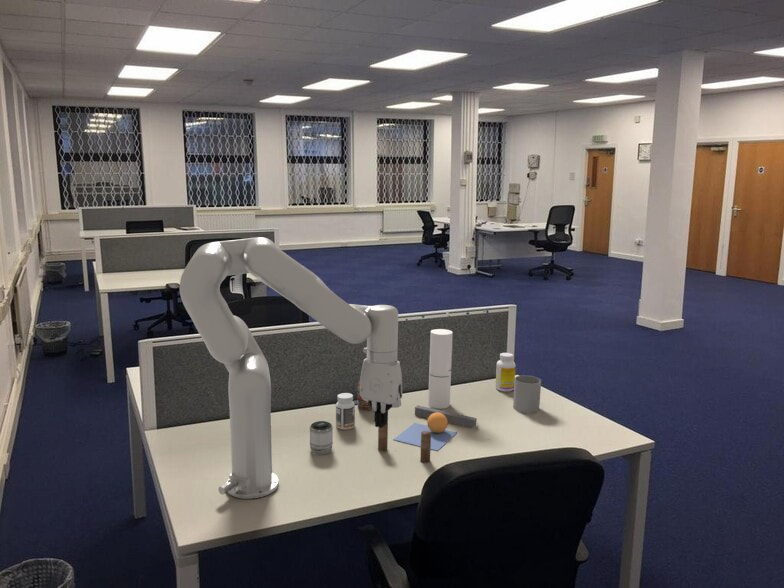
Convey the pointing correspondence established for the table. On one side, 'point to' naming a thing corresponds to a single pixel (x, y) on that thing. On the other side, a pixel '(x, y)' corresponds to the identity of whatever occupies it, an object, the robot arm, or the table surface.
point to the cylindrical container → (440, 368)
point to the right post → (425, 446)
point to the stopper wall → (447, 416)
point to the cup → (527, 394)
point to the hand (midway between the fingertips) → (381, 425)
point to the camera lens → (321, 437)
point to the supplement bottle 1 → (363, 402)
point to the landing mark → (414, 436)
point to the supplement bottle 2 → (505, 373)
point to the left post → (383, 438)
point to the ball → (437, 422)
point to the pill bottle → (345, 411)
